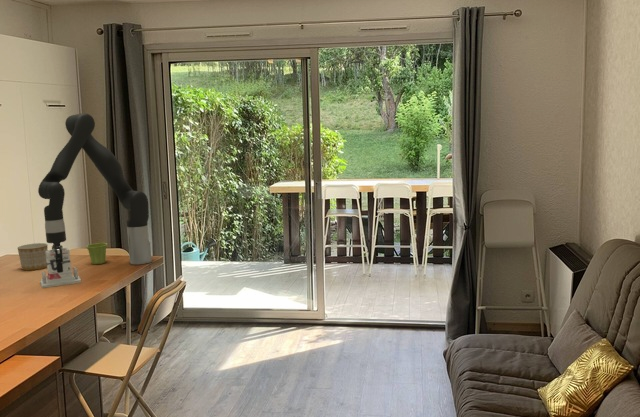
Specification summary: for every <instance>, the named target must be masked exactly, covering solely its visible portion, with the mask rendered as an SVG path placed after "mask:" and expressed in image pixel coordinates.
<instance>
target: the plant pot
mask: <svg viewBox="0 0 640 417" xmlns="http://www.w3.org/2000/svg"><path fill="white" fill-rule="evenodd" d="M107 247H108V243H106V242H97V243H91V244H87V245H86V249H87V252H88V253H89V254H88V255H89V258H90V262H91V264H92V265H101V264H104V263H106V262H107V261H106V259H107V258H106V257H107V256H106V255H107V254H106V253H107Z"/></svg>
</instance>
